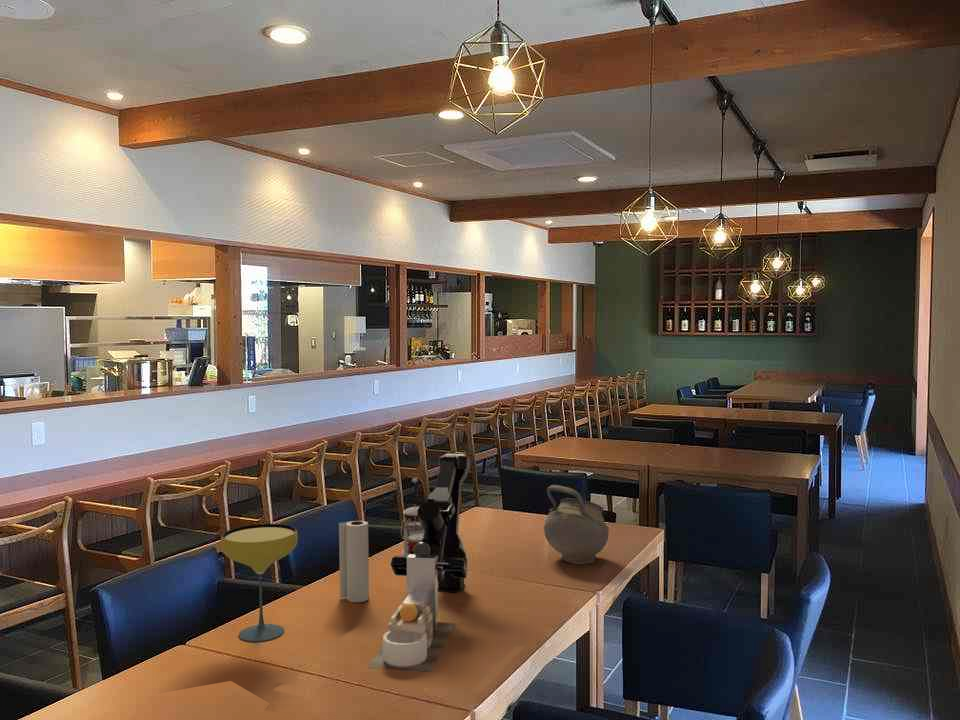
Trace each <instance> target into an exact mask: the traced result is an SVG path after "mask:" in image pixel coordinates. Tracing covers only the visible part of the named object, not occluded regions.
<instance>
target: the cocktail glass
mask: <svg viewBox="0 0 960 720" xmlns="http://www.w3.org/2000/svg"><path fill="white" fill-rule="evenodd" d="M298 540H299V538H298V531H297V528H295V527H294V526H292V525H287V524H282V523H259V524H258V523H257V524H249V525H244V526H238V527H234V528H231V529H228V530H227V531H225V532H223V533H222V534H221V538H220V548H221V551H222V553H223V554H224V556H226V557H227V558H229V559H230V560H232V561H234V562H237V563H239V564H243V565H246V566H248V567H250V568H251V569H252V570H253V571H254V572H255V574H257V575H258V582H259V583H258V586H259V589H258V591H259V593H258V594H259V597H258V598H259V615H258V616H259V618H258V624H256V625H251V626H248V627H245V628H244V629H242V630H240V631H239V633H238V638H239V639H241V640H242V641H244V642H250V643H261V641H263V642H268V641H271V640H272V641H273V640H274V639H277V638H279V637H281V636H282V635H283V634H284V633H285V628H284V627H283V626H282V625H278V624H273V623H272V624H271V623H265V620H264V612H263V611H264V610H263V609H264V608H263V606H264V605H263V580H262V579H263V574H264V573H266V571H267V569H268V568H269V567H270V566H271V565H272V564H274V563H275V562H277V561H280V560H281V559H283V558H285V557H287V556H288V555H289V554H291V553H292V552H293V550H295V548H296V547H297V544H298Z"/></svg>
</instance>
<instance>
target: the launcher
mask: <svg viewBox="0 0 960 720" xmlns="http://www.w3.org/2000/svg"><path fill="white" fill-rule="evenodd" d="M401 607H402V603H401V604H400V605H399V606H398V608H397V609H396V610H395V612H393V615H392V616H391V617H390V622H388V631H397V632H415V633H424V632H426V634H427V659H426V660H425V661H424V662H423V663H421V664H419V665H416V666H412V667H394V666H390V665H388V664H386V663H385V662H384V658H383V645H382V646H381V647H380V649H379V650H378V651H377V652H376V654H375V655H374V657H373V658H372V660H371V661H370V662H369V664H368V665H367V667H366V668H367V669H378V670H393V671H408V672H409V671H412V672H422V673H423V672H427V673H430V672H431V671H432V669H433V666H434V665H435V663H436V661H437V659H438V657H439V655H440V653H441V651H442V649H443V648H444V646H445V644H446V642H447V640H448V638H449V636H450V634H451V632H452V631H453V628H456V622H444V621H443V622H442V621H438V628H437V630H436V631H433V622H432V612H430V605H427V606H426V607H425V609H424V610H423V612H422V614H421V615H420V617H416V618H415V619H414V620H413V621H411V622H406V621H404V620H403V619H402V618H401V616H400V609H401Z"/></svg>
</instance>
